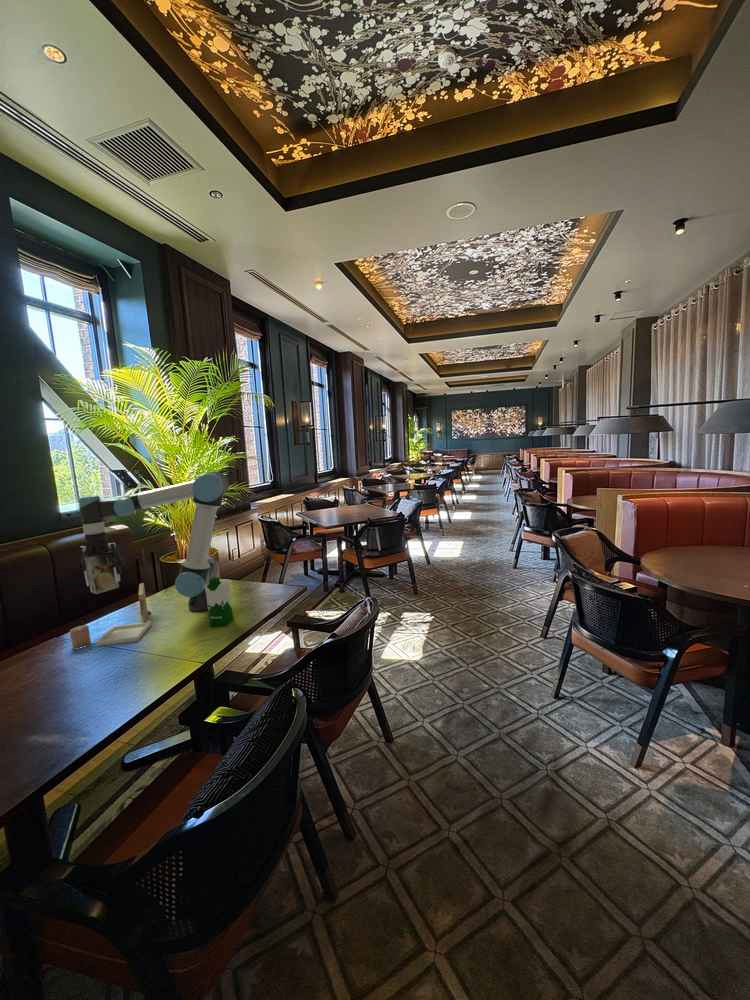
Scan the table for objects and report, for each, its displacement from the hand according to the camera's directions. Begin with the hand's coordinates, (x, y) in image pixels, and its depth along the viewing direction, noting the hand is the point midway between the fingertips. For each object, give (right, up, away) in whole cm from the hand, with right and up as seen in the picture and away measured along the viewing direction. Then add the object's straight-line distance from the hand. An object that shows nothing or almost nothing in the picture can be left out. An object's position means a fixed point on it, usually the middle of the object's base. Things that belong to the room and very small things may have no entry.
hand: (103, 583), depth 178 cm
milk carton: (+51, -17, -2) cm, 54 cm away
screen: (+13, -18, +8) cm, 23 cm away
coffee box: (0, -3, 0) cm, 3 cm away
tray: (+14, -20, -8) cm, 25 cm away
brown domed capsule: (+1, -21, -15) cm, 26 cm away
